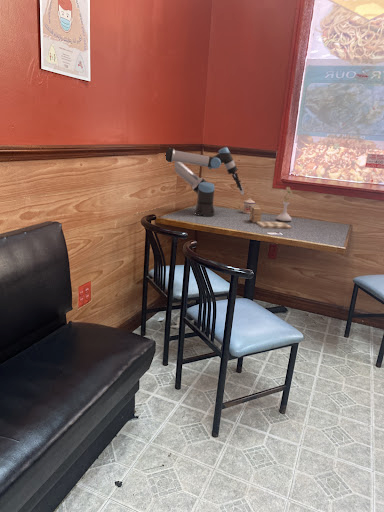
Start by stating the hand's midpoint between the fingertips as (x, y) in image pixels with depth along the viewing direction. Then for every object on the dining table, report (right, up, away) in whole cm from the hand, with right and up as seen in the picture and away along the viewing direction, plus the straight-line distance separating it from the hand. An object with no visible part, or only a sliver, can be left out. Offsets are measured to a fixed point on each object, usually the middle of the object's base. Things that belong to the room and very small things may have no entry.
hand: (242, 192), depth 307 cm
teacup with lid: (+7, -15, +10) cm, 19 cm away
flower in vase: (+29, -23, -11) cm, 38 cm away
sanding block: (+6, -25, -23) cm, 34 cm away
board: (+17, -28, -33) cm, 47 cm away
